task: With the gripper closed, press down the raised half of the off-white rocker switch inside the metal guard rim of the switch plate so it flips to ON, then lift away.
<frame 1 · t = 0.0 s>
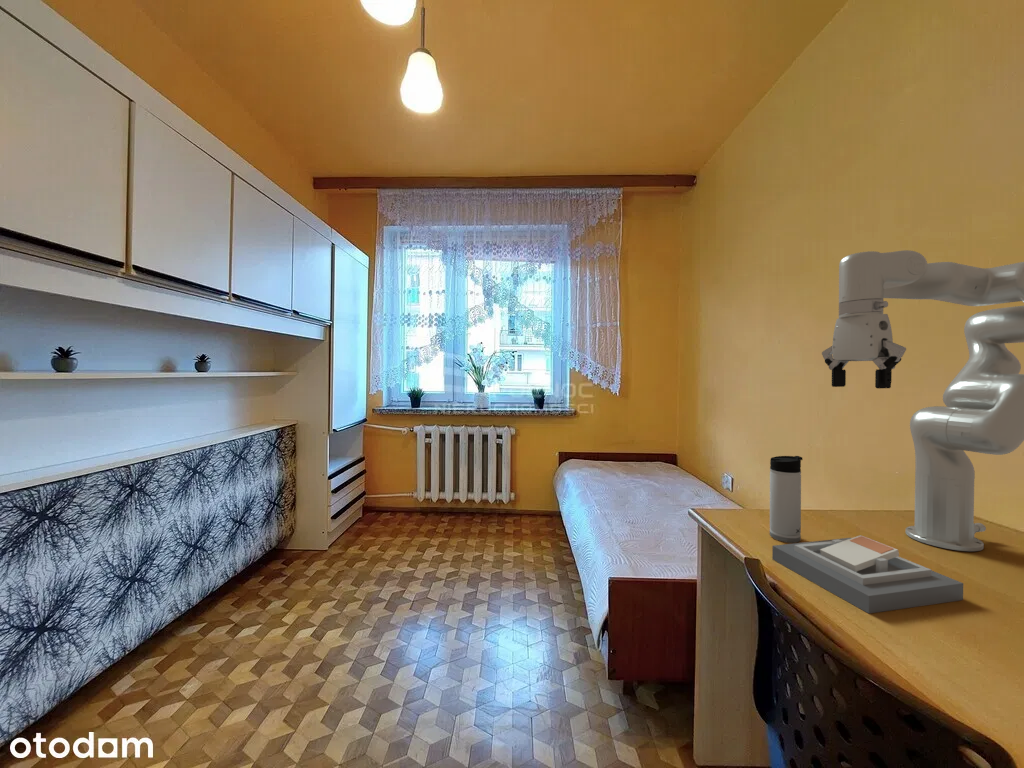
hand: (859, 387, 90), 37 cm above the table, tool pointing down, fingers open, 9 cm apart
travel mug: (785, 538, 99), on the table
rocker switch: (858, 552, 79), point 5 cm above the table, hinge at 12.0°
switch plate: (858, 577, 79), on the table
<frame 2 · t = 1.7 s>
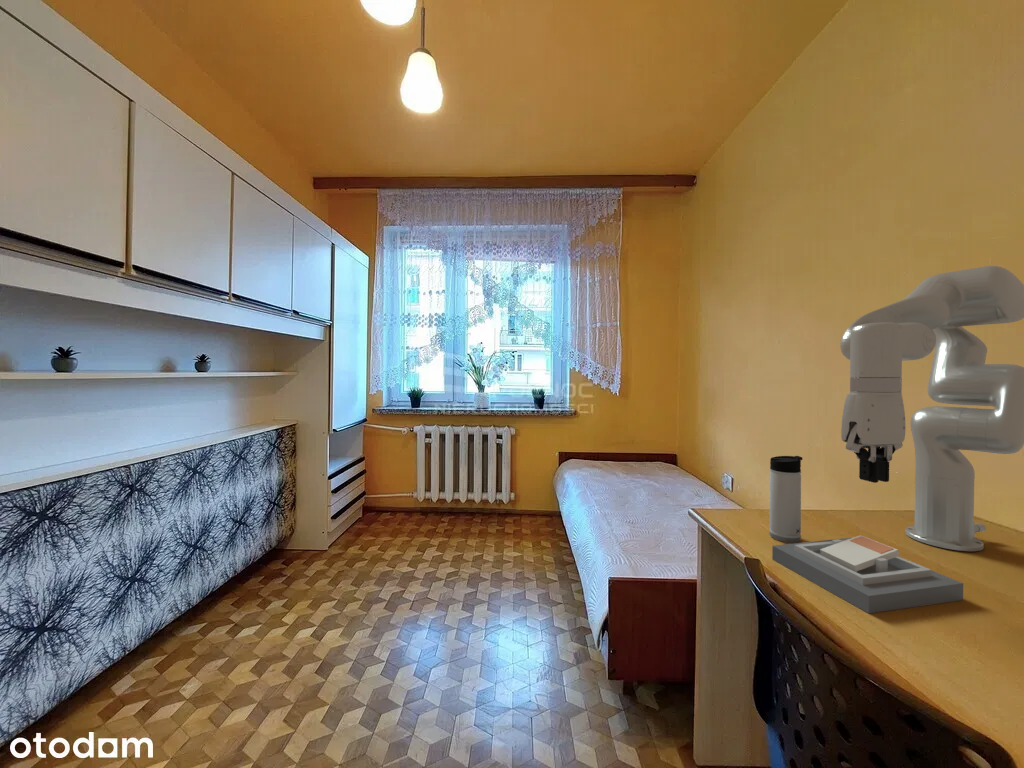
hand: (873, 479, 79), 19 cm above the table, tool pointing down, fingers closed
nothing on the table moved.
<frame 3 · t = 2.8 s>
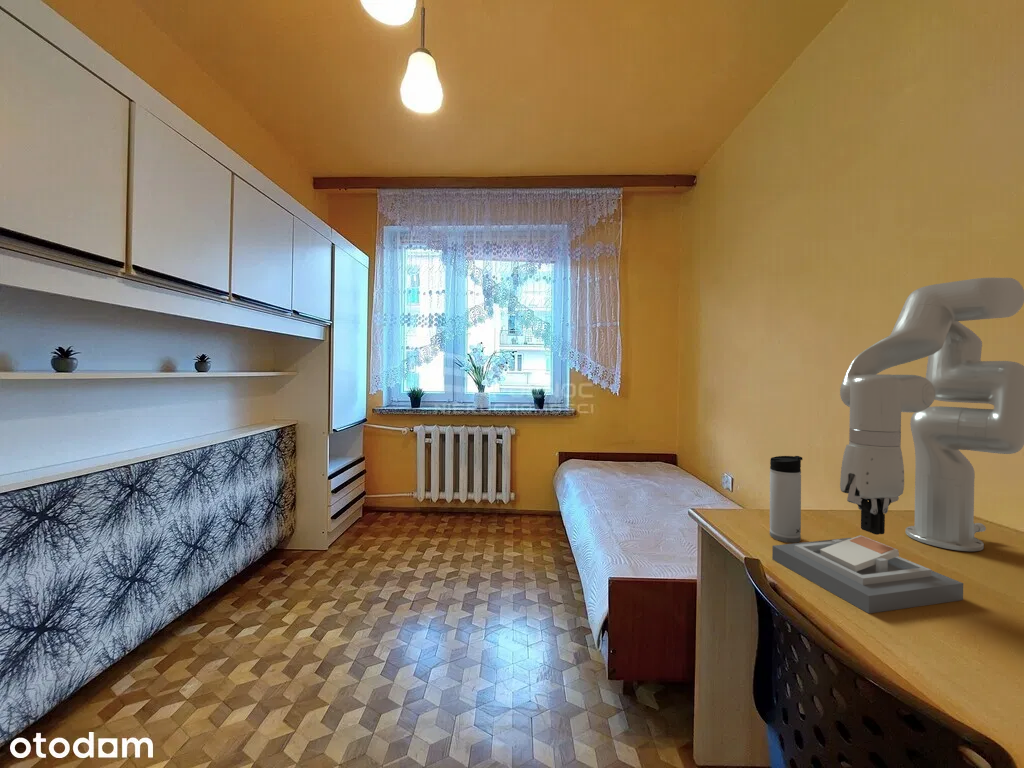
hand: (872, 531, 80), 9 cm above the table, tool pointing down, fingers closed
nothing on the table moved.
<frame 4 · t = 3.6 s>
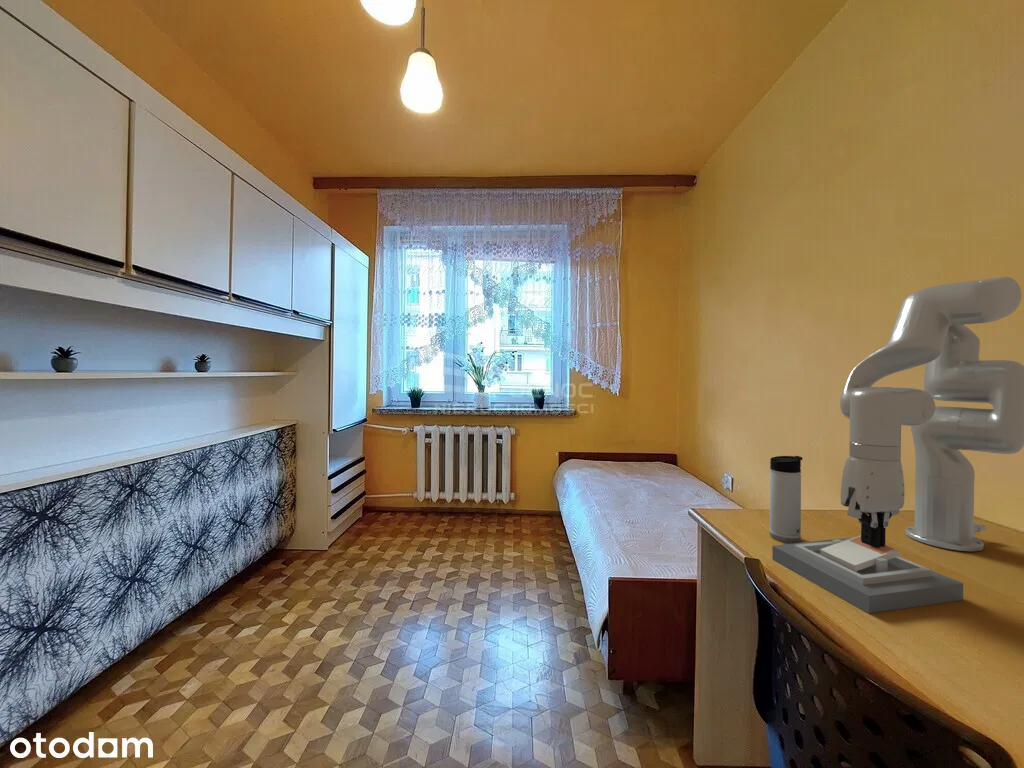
hand: (872, 544, 80), 6 cm above the table, tool pointing down, fingers closed
rocker switch: (858, 552, 79), point 5 cm above the table, hinge at 11.5°, touching gripper
everything else where it was.
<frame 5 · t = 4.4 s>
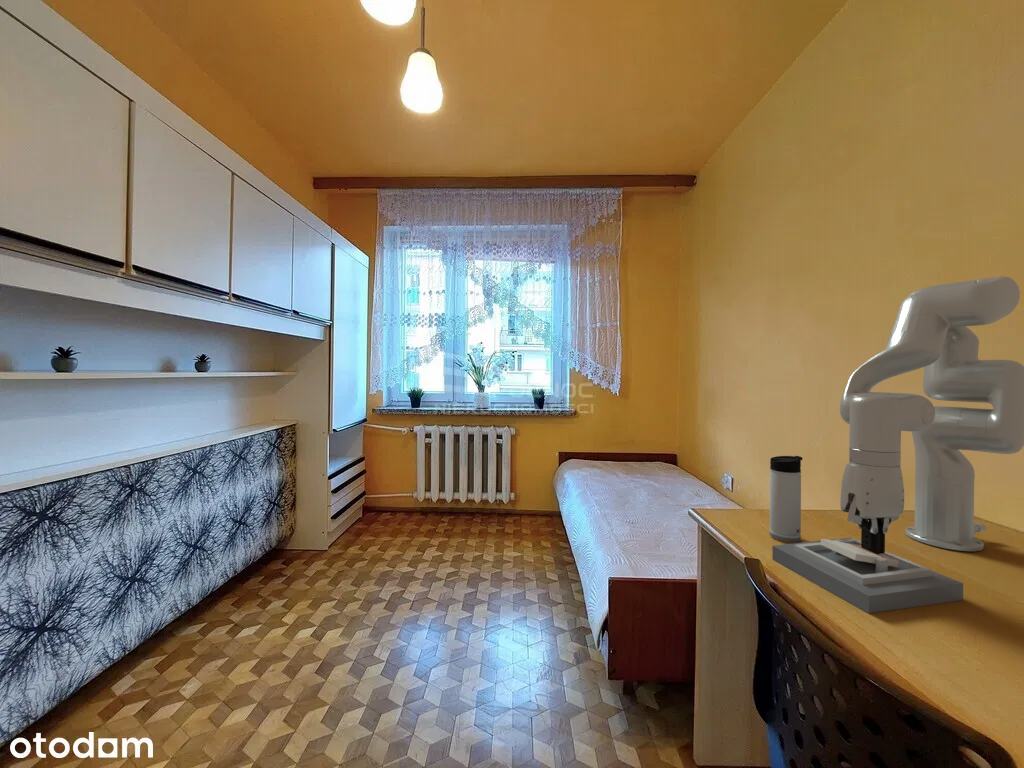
hand: (872, 550, 80), 5 cm above the table, tool pointing down, fingers closed
rocker switch: (858, 552, 79), point 5 cm above the table, hinge at -13.6°, touching gripper
everything else where it was.
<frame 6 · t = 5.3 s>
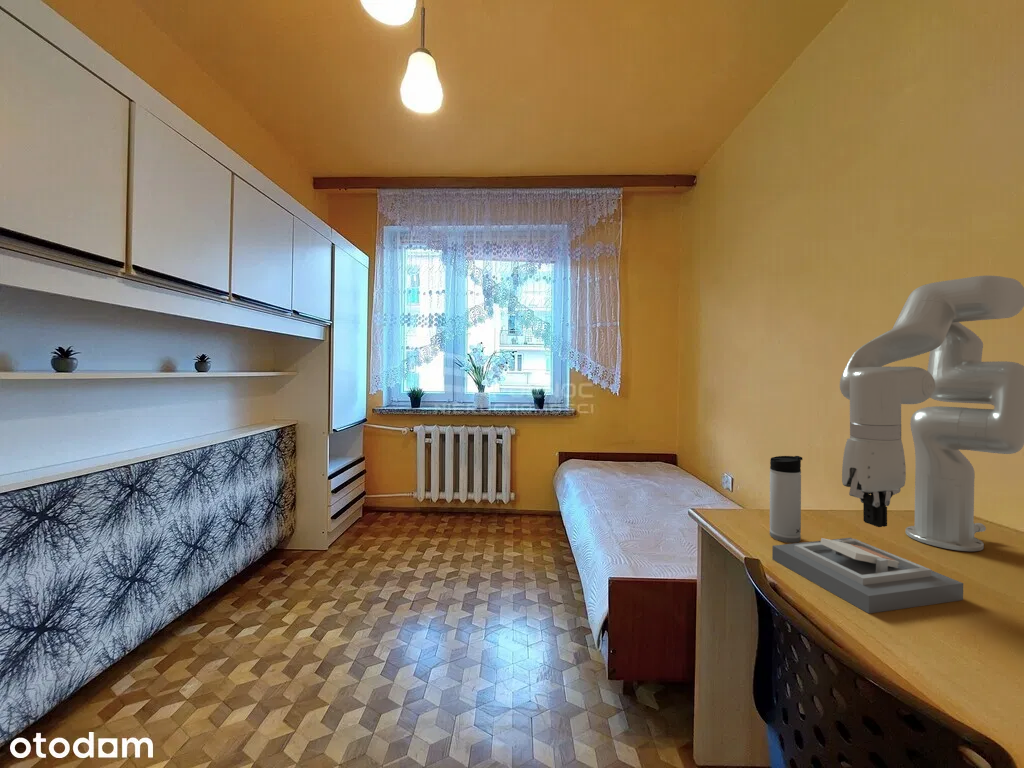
hand: (875, 524, 80), 10 cm above the table, tool pointing down, fingers closed
rocker switch: (858, 552, 79), point 5 cm above the table, hinge at -15.1°
everything else where it was.
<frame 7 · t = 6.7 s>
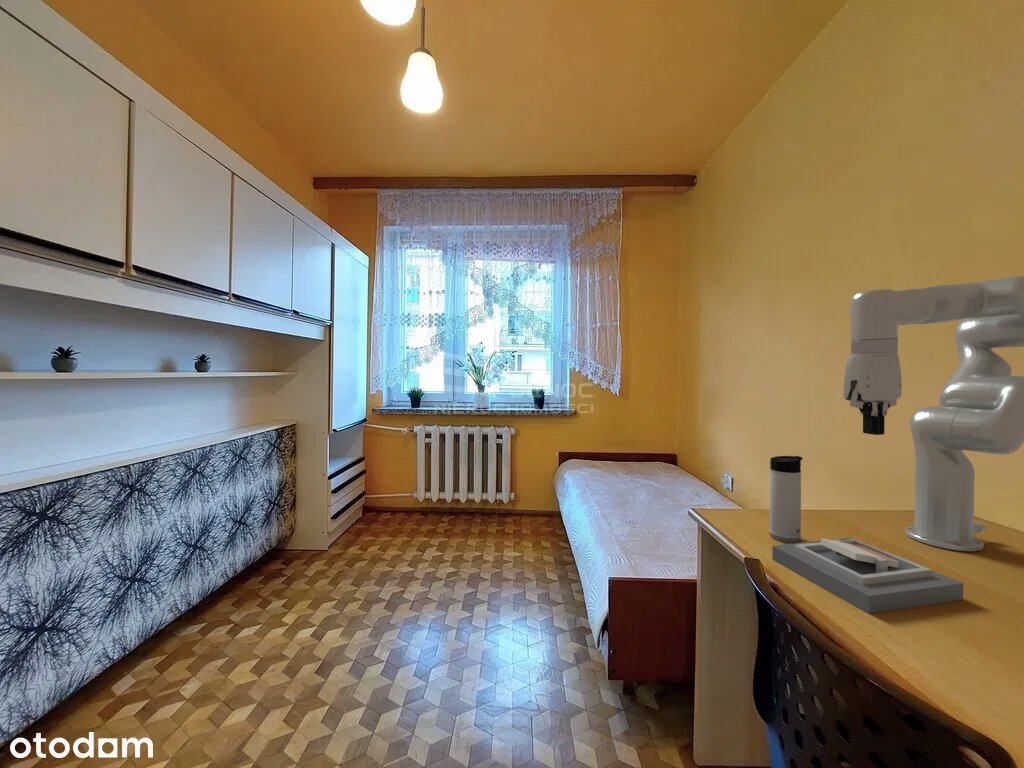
hand: (873, 433, 87), 27 cm above the table, tool pointing down, fingers closed
rocker switch: (858, 552, 79), point 5 cm above the table, hinge at -14.3°
everything else where it was.
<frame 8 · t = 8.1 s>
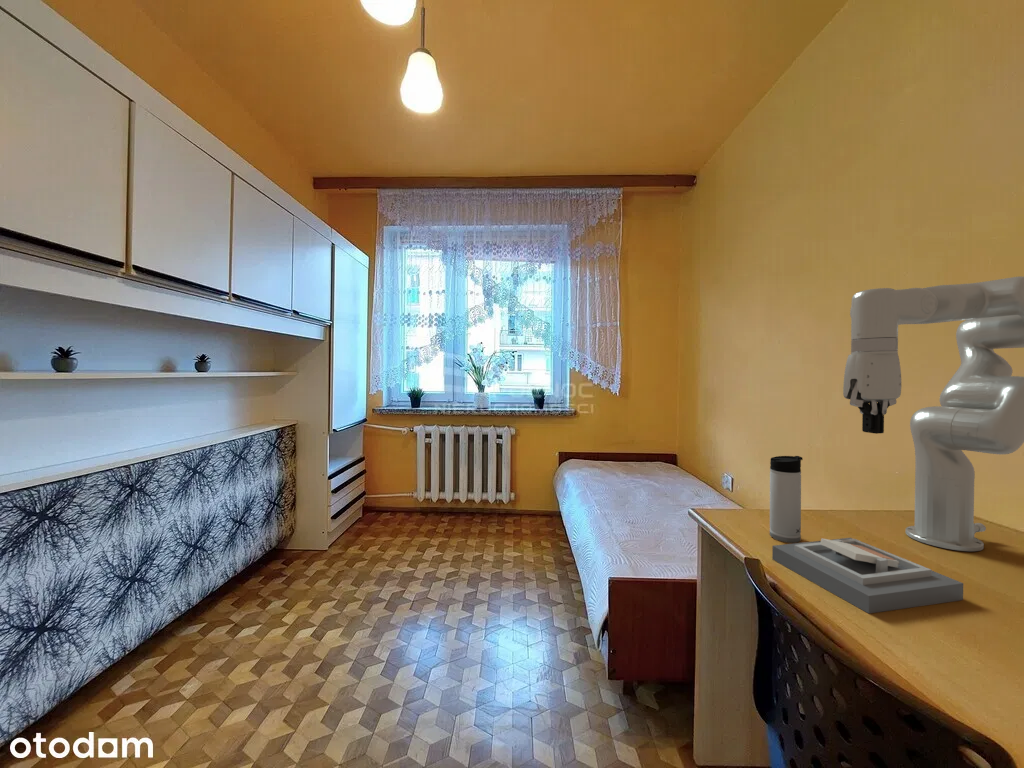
hand: (872, 432, 88), 27 cm above the table, tool pointing down, fingers closed
nothing on the table moved.
at the end: rocker switch at -14° (first picture: +12°); travel mug moved 0.2 cm from its start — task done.
